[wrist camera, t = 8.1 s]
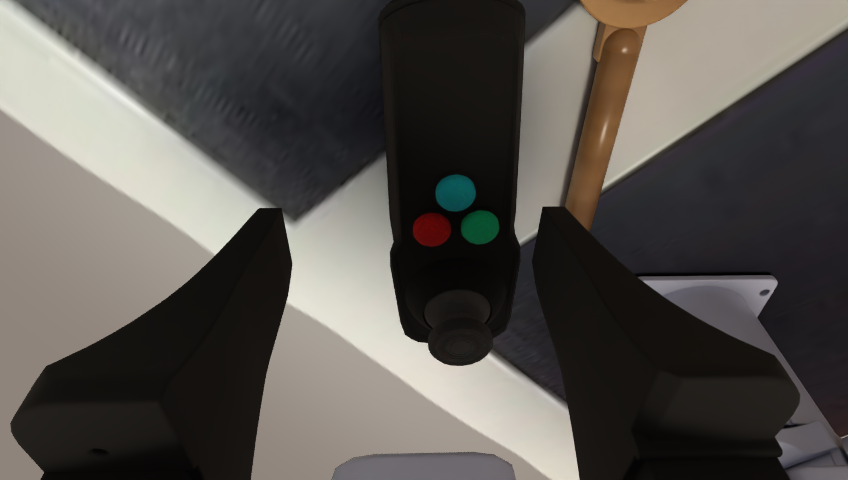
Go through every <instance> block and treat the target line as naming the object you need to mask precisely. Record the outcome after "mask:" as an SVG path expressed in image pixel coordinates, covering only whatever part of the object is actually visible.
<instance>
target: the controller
mask: <svg viewBox="0 0 848 480" xmlns="http://www.w3.org/2000/svg"><path fill="white" fill-rule="evenodd" d="M378 30H379V45H380V60H381V77H382V93H383V110H384V127H385V143H386V160H387V178H388V196H389V214H390V222H391V228H392V234H393V240H394V242H393V245H392V248H391V251H390V267H391V272H392V278H393V283H394V289H395V295H396V300H397V306H398V311H399V317H400V322H401V325H402V328H403V330H404V333H405V335H406V336H408V337H409V338H411V339H413V340H415V341H417V342H424V343H428V348H429V351H430V353H431V354H432V356H433V357H434V358H436V359H437V360H439V361H440V362H442V363H444V364H448V365H453V366H464V365H470V364H473V363H476V362H478V361H480V360H481V359H483V358H484V357H485V356H487V355H488V353H489V352H490V350H491V349H492V346H493V338H495V337H496V336H498V335H500V334H501V333H502V332H504V331H505V330H506V328H507V325H508V322H509V320H510V316H511V311H512V305H513V299H514V294H515V288H516V282H517V277H518V271H519V265H520V245H519V242H518V240H517V237H516V235H515V229H514V222H515V214H516V198H517V179H518V160H519V141H520V122H521V103H522V84H523V64H524V40H525V9H524V7H523V5H522V4H521V3H520V2H519V1H517V0H393V1H392V2H390V3H389V4H388V5H386V6H385V7H384V8H383V9H382V10H381V12H380V15H379V17H378Z"/></svg>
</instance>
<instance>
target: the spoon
mask: <svg viewBox="0 0 848 480" xmlns="http://www.w3.org/2000/svg"><path fill="white" fill-rule="evenodd" d="M686 1H687V0H579V2H580V3H581V4H582V6H583V7H584V8H585V9H586V10H587V11H588V13H589V14H590V15H592V16H593V17H594V18H595V19H596V20H598V21H600V23H599V28H598V32H597V37H596V41H595V46H594V50H593V57H594V58H595V60H596V61H597V62H598V65H597V69H596V74H595V78H594V82H593V87H592V91H591V95H590V100H589V104H588V108H587V113H586V117H585V121H584V126H583V130H582V134H581V139H580V143H579V147H578V152H577V156H576V160H575V165H574V169H573V173H572V178H571V182H570V186H569V191H568V195H567V199H566V204H565V207H566V208H567V210H568V211H569V212H570V213H571V214H572V215H573V216H574V217H575V218H576V219H577V220H578V221H579V222H580V223H581V224H582V225H583V226H584V227H585V229H586V230H587V231H588V232H589V233H590V229H591V225H592V222H593V218H594V215H595V211H596V207H597V204H598V200H599V197H600V193H601V190H602V186H603V182H604V179H605V175H606V172H607V168H608V164H609V161H610V157H611V154H612V150H613V146H614V143H615V139H616V136H617V132H618V128H619V125H620V121H621V118H622V114H623V110H624V107H625V103H626V100H627V96H628V93H629V89H630V85H631V82H632V78H633V75H634V71H635V67H636V64H637V61H638V57H639V53H640V50H641V46H642V43H643V39H644V35H645V32H646V28H647V25H649V24H652V23H655V22H657V21H659V20H661V19H663V18H665V17H667V16H668V15H670V14H671V13H673V12H674V11H676V10H677V9H678V8H679V7H681V6H682V5H683V4H684V3H685V2H686Z"/></svg>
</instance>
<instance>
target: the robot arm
mask: <svg viewBox="0 0 848 480" xmlns="http://www.w3.org/2000/svg"><path fill="white" fill-rule="evenodd" d="M532 265H533V271H534V277H535V283H536V289H537V294H538V297H539V300H540V303H541V307H542V310H543V313H544V316H545V320H546V323H547V326H548V329H549V332H550V335H551V338H552V342H553V345H554V348H555V351H556V354H557V357H558V361H559V365H560V369H561V373H562V378H563V383H564V388H565V393H566V398H567V403H568V409H569V415H570V420H571V426H572V432H573V438H574V444H575V451H576V457H577V464H578V470H579V478H580V480H848V436H847V437H845V438H842V439H841V438H840V437H839V436H838V435H837V434H836V433H835V432H834V431H833V429H832V428H831V426H830V425H829V423H828V422H827V420H826V419H825V417H824V416H823V414H822V413H821V412H820V410H819V409H818V407H817V406H816V404H815V403H814V401H813V400H812V398H811V397H810V395H809V394H808V392H807V391H806V389H805V388H804V386H803V385H802V383H801V382H800V380H799V379H798V378H797V376H796V375H795V373H794V372H793V370H792V369H791V367H790V366H789V364H788V363H787V361H786V360H785V358H784V357H783V355H782V354H781V352H780V351H779V349H778V348H777V347H776V345H775V344H774V342H773V341H772V339H771V338H770V336H769V335H768V333H767V332H766V330H765V329H764V327H763V326H762V324H761V323H760V321H759V320H758V318H757V317H758V315H759V314H760V312H761V310H762V309H763V307H764V306H765V304H766V302H767V301H768V299H769V297H770V296H771V294H772V293H773V291H774V289H775V288H776V286H777V284H778V282H777V280H776V279H775V278H774V277H773V276H771V275H738V276H641V277H637V276H636V275H634V274H633V273H632V272H631V271H630V270H628V269H627V268H626V267H625V266H624V265H623V264H622V263H620V262H619V261H618V260H617V259H616V258H615V257H614V256H613V255H612V254H610V253H609V252H608V251H607V250H606V249H605V248H604V247H603V246H602V245H601V244H600V243H599V242H598V241H597V240H596V239H595V238H594V237H593V236H592V235H591V234H590V233H589V232H588V231H587V230H586V229H585V227H584V226H583V225H582V224H581V223H580V222H579V221H578V220H577V219H576V218H575V217H574V216H573V215H572V214H571V213H570V212H569V211H568V210H567V208H566V207H543V208H542V213H541V218H540V223H539V229H538V234H537V239H536V244H535V249H534V254H533V259H532ZM291 270H292V259H291V254H290V249H289V244H288V239H287V234H286V228H285V223H284V218H283V213H282V208H259V209H258V210H257V211H256V212H255V213H254V214H253V215H252V216H251V217H250V218H249V220H248V221H247V222H246V223H245V224H244V225H243V226H242V227H241V229H240V230H239V231H238V232H237V233H236V234H235V235H234V236H233V237H232V239H231V240H230V241H229V242H228V243H227V244H226V245H225V246H224V247H223V248H222V249H221V250H220V251H219V252H218V253H217V254H216V255H215V256H214V257H213V258H212V259H211V260H210V261H209V262H208V263H207V264H206V265H205V266H204V267H203V268H202V269H201V270H200V271H199V272H198V273H197V274H196V275H194V276H193V277H192V278H191V279H190V280H189V281H188V282H187V283H185V284H184V285H183V286H182V287H181V288H179V289H178V290H177V291H175V292H174V293H173V294H171V295H170V296H169V297H168V298H166V299H165V300H163V301H162V302H161V303H159V304H158V305H156V306H155V307H153V308H152V309H150V310H149V311H147V312H146V313H144V314H143V315H141V316H140V317H138V318H137V319H135V320H134V321H132V322H131V323H129V324H127V325H126V326H124V327H122V328H121V329H119V330H117V331H116V332H114V333H112V334H110V335H108V336H107V337H105V338H103V339H101V340H99V341H98V342H96V343H94V344H92V345H90V346H88V347H86V348H84V349H82V350H80V351H78V352H75V353H73V354H71V355H69V356H67V357H65V358H63V359H61V360H59V361H57V362H54V363H52V364H50V365H48V366H46V367H45V369H44V370H43V371H42V373H41V374H40V376H39V377H38V379H37V380H36V382H35V383H34V385H33V386H32V388H31V390H30V391H29V393H28V394H27V396H26V398H25V399H24V401H23V403H22V404H21V406H20V408H19V409H18V411H17V412H16V414H15V416H14V417H13V419H12V421H11V423H10V424H11V432H12V434H13V436H14V438H15V439H16V440H17V442H18V444H19V445H20V446H21V447H22V448H23V449H24V450H25V452H26V453H27V454H28V455H29V456H30V457H31V458H32V459H33V460H34V461H35V462H36V464H37V465H38V466H39V467H40V468H41V469H42V470H43V471H44V474H43V476H42V478H41V480H251V473H252V465H253V457H254V450H255V441H256V435H257V427H258V421H259V415H260V408H261V402H262V396H263V390H264V384H265V378H266V373H267V369H268V365H269V361H270V357H271V354H272V350H273V347H274V343H275V340H276V336H277V332H278V329H279V326H280V322H281V318H282V315H283V312H284V308H285V304H286V301H287V297H288V292H289V285H290V278H291ZM331 480H516V479H515V474H514V470H513V467H512V465H511V464H510V463H508V462H507V461H505V460H503V459H501V458H499V457H498V456H496V455H493V454H485V453H477V452H463V453H462V452H458V453H414V454H413V453H410V454H373V455H366V456H359V457H354V458H352V459H350V460H348V461H346V462H345V463H343V464H341V465H339V466H338V467H337V468H336V469H335V471H334V474H333V477H332V479H331Z"/></svg>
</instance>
